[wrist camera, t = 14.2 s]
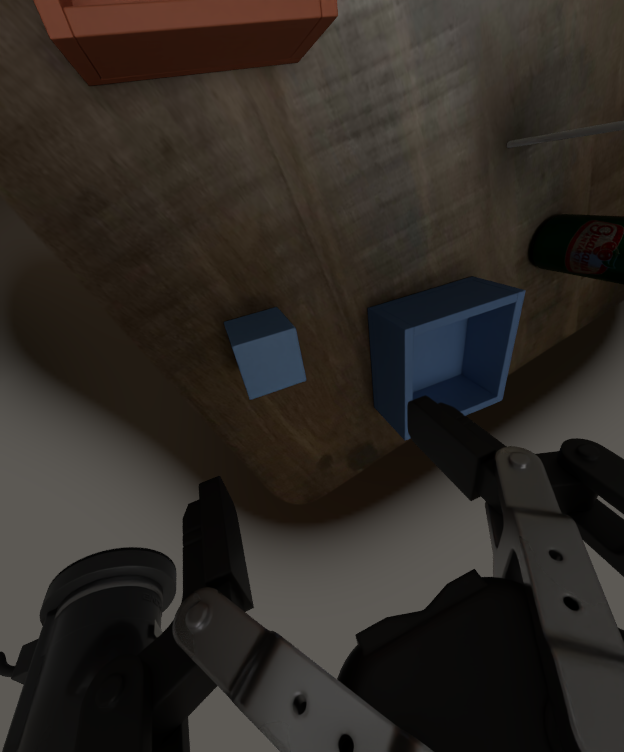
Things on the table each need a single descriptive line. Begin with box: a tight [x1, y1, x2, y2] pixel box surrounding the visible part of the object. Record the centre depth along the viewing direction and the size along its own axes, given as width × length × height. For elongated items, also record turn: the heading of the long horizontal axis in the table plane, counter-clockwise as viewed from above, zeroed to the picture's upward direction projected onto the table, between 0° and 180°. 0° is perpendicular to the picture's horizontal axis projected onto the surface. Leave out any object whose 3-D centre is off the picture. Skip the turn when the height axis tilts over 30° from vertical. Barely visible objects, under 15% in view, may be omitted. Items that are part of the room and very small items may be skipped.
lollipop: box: [507, 121, 624, 148], centre depth 19 cm, size 6×6×15 cm
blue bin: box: [368, 276, 525, 440], centre depth 30 cm, size 12×12×6 cm
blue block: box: [224, 307, 306, 400], centre depth 24 cm, size 4×4×5 cm
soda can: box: [531, 214, 624, 284], centre depth 27 cm, size 5×5×12 cm
